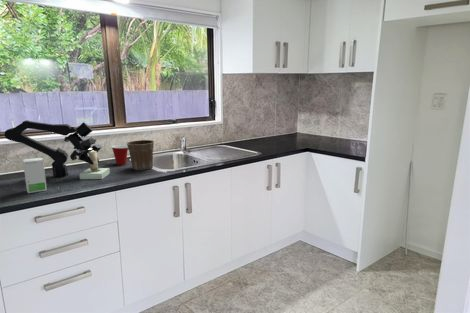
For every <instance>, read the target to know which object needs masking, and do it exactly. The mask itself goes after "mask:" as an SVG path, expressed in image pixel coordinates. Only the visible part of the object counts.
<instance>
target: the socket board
mask: <svg viewBox="0 0 470 313" xmlns="http://www.w3.org/2000/svg"><path fill="white" fill-rule="evenodd" d="M98 168H99V169H98V172H91V170H90V167H89V168H87V169H85V170H84V171H82V172H80V173H79V180H103V179H104V178H105V177H107V176H108V175H110V174H111V171H110V167H106V168H105V167H104V168H103V167H98Z"/></svg>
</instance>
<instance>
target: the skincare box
mask: <svg viewBox="0 0 470 313" xmlns="http://www.w3.org/2000/svg"><path fill="white" fill-rule="evenodd" d="M22 163H23V164H22V165H23V170H24V171H23V172H24V178H25V180H24V182H25V187H26V188H25V189H26V191H27V193H28V194H31V193H39V192H45V191H48V190H47V179H46V172H45V165H44V159H43V158H42V157H38V158H36V157H35V158H26V159H25V158H24V159H22Z"/></svg>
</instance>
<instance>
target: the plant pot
mask: <svg viewBox="0 0 470 313" xmlns="http://www.w3.org/2000/svg"><path fill="white" fill-rule="evenodd" d="M154 143H155V141H154V140H151V139H139V140H132V141H128V142H126V146H128V152H129V156H130V164H131V168H132V169H133V170H135V171H144V170H150V169H152V168H153V166H154V160H153V159H154Z"/></svg>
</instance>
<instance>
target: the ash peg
mask: <svg viewBox="0 0 470 313" xmlns="http://www.w3.org/2000/svg"><path fill="white" fill-rule="evenodd" d="M88 156H89V158H90V159H91V160H92V161H93V163H94V164H93V165H92V164H89V168H90V170H91V172H98V169H99V168H100V167H99V163H98V160H97V157H98V152H97V151H90V152H89V154H88Z"/></svg>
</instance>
